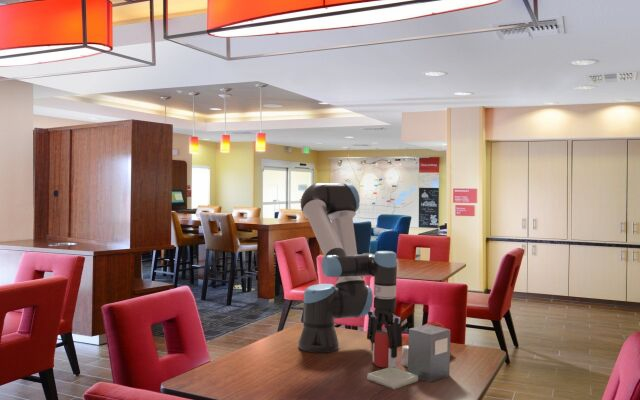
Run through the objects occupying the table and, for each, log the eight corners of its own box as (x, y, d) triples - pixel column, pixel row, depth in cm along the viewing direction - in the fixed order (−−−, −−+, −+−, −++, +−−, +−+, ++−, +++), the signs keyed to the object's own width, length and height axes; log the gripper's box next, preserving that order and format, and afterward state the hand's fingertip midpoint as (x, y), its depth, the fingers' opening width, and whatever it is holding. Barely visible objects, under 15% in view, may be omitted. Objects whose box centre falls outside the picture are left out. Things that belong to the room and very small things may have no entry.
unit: (406, 374, 183) (407, 328, 183) (426, 368, 190) (427, 324, 189) (430, 382, 176) (431, 334, 176) (450, 375, 182) (451, 329, 182)
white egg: (398, 364, 194) (399, 347, 193) (408, 361, 197) (408, 344, 197) (410, 368, 190) (410, 350, 190) (419, 365, 193) (420, 347, 193)
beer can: (392, 369, 188) (393, 333, 188) (373, 367, 190) (373, 332, 189) (394, 363, 195) (394, 328, 194) (375, 361, 196) (375, 327, 196)
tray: (367, 379, 178) (367, 373, 178) (391, 372, 185) (391, 366, 185) (394, 389, 169) (394, 383, 169) (417, 381, 177) (418, 375, 177)
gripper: (356, 293, 197) (355, 359, 197) (399, 302, 182) (398, 373, 182) (371, 291, 201) (370, 355, 202) (414, 300, 187) (413, 369, 187)
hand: (383, 363), depth 192 cm, fingers closed on beer can, 7 cm apart
